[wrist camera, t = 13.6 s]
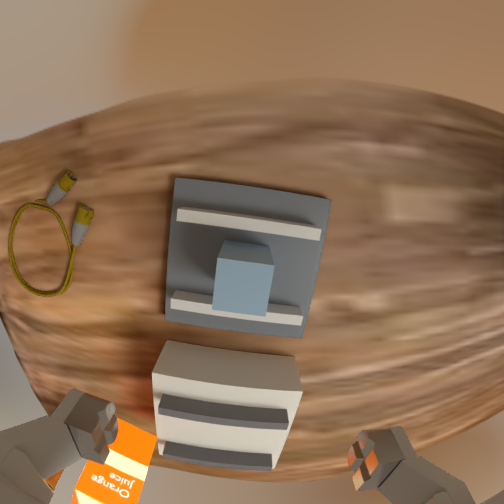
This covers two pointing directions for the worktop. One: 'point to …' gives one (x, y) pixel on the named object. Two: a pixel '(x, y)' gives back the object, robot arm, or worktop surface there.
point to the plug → (243, 278)
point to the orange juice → (117, 469)
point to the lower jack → (247, 231)
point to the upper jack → (224, 405)
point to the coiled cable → (78, 229)
